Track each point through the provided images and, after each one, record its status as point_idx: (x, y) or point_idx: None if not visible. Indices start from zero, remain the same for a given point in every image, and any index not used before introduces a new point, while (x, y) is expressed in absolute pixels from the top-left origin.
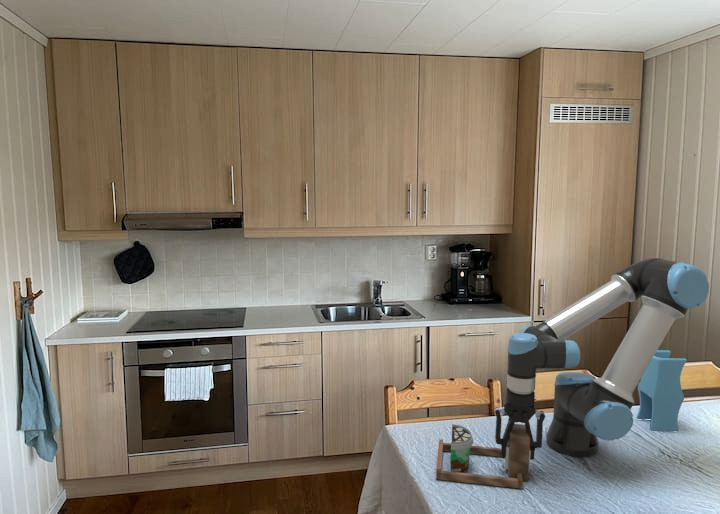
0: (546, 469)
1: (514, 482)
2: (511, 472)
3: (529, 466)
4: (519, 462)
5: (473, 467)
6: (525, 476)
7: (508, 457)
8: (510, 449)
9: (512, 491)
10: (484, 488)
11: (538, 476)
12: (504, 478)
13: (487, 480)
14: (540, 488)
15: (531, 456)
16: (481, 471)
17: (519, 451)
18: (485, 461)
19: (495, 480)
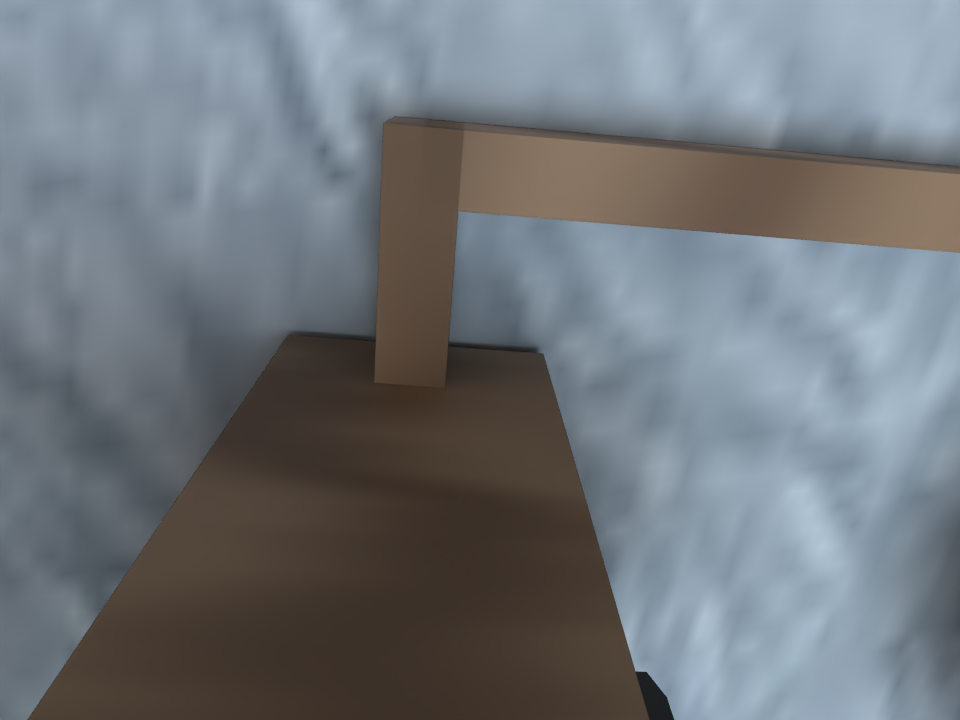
0: (34, 627)
1: (524, 132)
2: (523, 390)
3: None
4: (390, 480)
5: (920, 566)
6: (313, 359)
7: None
8: (645, 706)
9: (555, 51)
10: (956, 85)
11: (140, 474)
12: (687, 188)
13: (944, 170)
14: (130, 188)
15: None
16: (850, 496)
17: (372, 664)
18: (733, 693)
19: (828, 162)
